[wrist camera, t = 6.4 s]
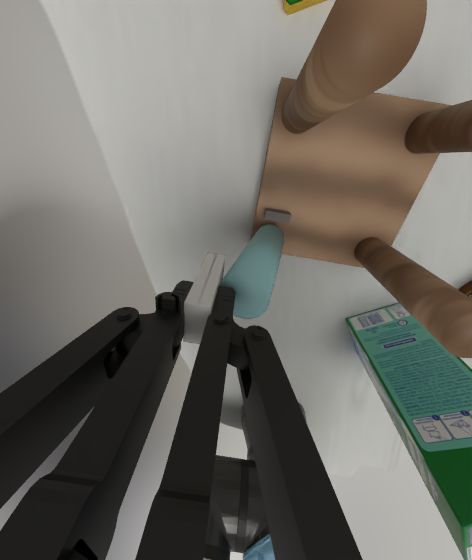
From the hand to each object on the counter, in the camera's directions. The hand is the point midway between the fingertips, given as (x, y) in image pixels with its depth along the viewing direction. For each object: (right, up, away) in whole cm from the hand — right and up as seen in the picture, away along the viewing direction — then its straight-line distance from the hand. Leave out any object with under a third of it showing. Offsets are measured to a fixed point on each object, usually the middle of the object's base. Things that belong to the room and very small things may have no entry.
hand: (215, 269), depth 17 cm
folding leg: (+6, +4, +10) cm, 12 cm away
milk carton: (+27, -9, +22) cm, 36 cm away
